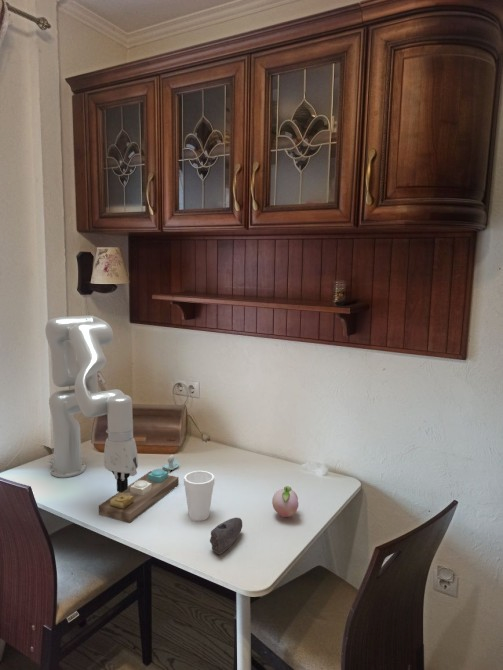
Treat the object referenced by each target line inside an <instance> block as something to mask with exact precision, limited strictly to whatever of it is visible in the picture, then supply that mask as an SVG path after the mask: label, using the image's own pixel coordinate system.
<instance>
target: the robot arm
mask: <svg viewBox="0 0 503 670" xmlns="http://www.w3.org/2000/svg"><path fill="white" fill-rule="evenodd" d="M44 331H45V338H46V341H47V343H48V345H49V350H50V353H51V354H50V357H51V377H52V382H53V384H54V386H56V387H59V388H65V387H72V386H74V387H73V388H68V389H63V390H58V391H55V392H53V393H52V394H51V395H50V397H49V398H48V405H49V409H50V415H51V419H52V421H51V422H52V434H53V454H54V455H51V457H50V459H48V461H47V462H48V463H49V464H52V466H51V468H50V475H51V476H53V477H56V478H70V477H71V478H72V477H77V476H79V475H81V474H83V473H84V472H85V471H86V469H87V466H86V463H84V462H82V445H81V444H82V442H81V424H80V422H79V421H78V420H77V419H76V418H75V417H74V415H76V414H79V413H80V414H81V413H82V415H83V416H84V417H86V418H91V419H92V418H98V417H102V416H105V415H107V428H106V430H105V432H106V434H107V437H106V439H105V442H104V443H105V444H104V451H103V466H104V468H105V470H107V471H109V472H110V473H112V475H113V476H114V479H115V480H116V491H117V493H118V492H121V493H122V492H124V491H125V490H127V489H128V486H129V482H128V481H129V478H130V477H135V476H136V475H137V474H138V472H137V469H138V466H139V461H138V460H139V459H138V458H139V457H138V450H137V449H138V448H137V444H136V439H135V438H134V419H133V417H134V416H133V400H132V399H133V398H132V397H131V396H130V395H128V394H125V393H124V392H123V391H121V389H116V388H115V389H109V390H103V391H99V389H98V388H99V386H98V385H99V384H98V383H99V381H98V372H99V371H101V370H102V369H103V368H104V367H105V366H106V364H107V358H106V356H105V354H104V351H103V348H102V346H109V345H111V343H113V341H114V332H113V329H112V326H110V324H109V323H108V322H107V321H105V320H104V319H101V318H99V317H97V316H95V315H75V316H74V315H73V316H71V315H70V316H60V317H53V318H51V319H49V320H48V321H47V322H46V324H45V330H44Z"/></svg>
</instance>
